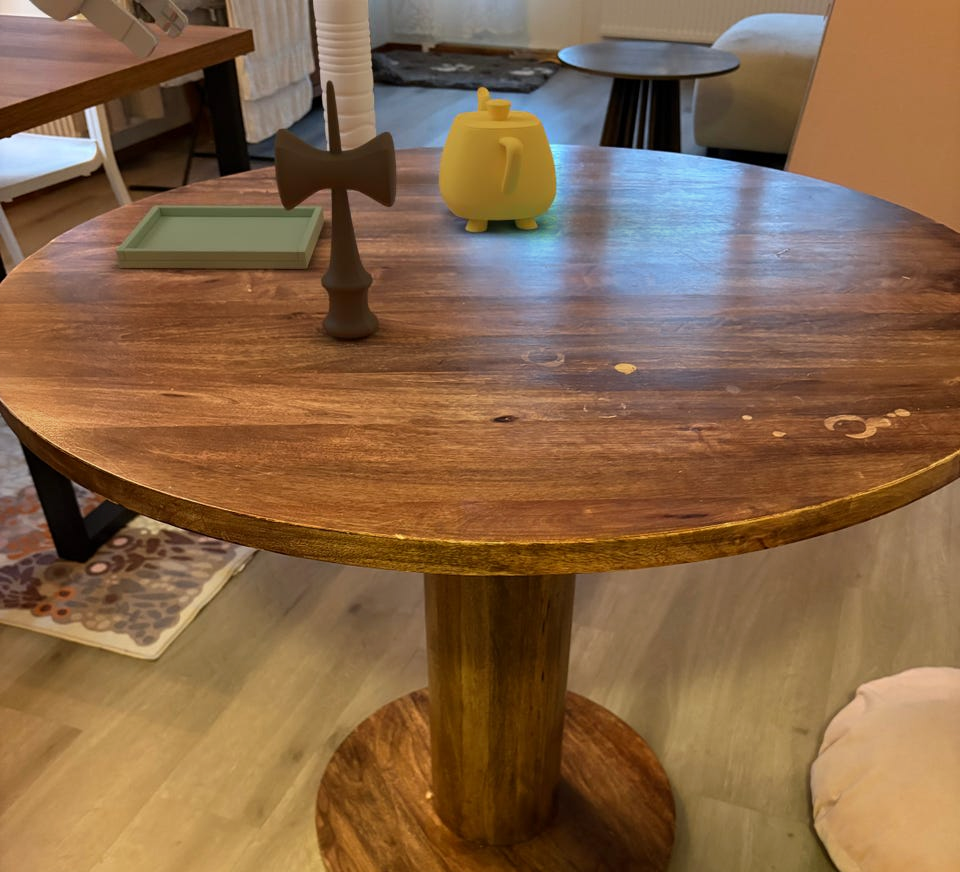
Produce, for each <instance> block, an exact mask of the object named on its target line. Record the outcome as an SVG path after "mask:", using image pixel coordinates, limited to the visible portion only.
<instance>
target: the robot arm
mask: <svg viewBox="0 0 960 872" xmlns="http://www.w3.org/2000/svg"><path fill="white" fill-rule="evenodd" d="M28 1H29V2H30V3H31V4H32V5H34V6H35V7H36V8H37V9H38V10H39V11H41V12H42V13H43V14H45V15H46V16H48V17H50V18H51V19H53V20H55V21H57V22H64V21H66V20H70V19H71V18H74V17H76V16H78V15H80V14H81V15H82V16H83V17H84V18H85V19H86V20H88V22H89V23H91V25H93V26H94V27H96V28H97V29H99V30H100V31H102V32H104V33H105V34H107V35H109V36H110V37H112V38H114V39H115V40H116V41H118V42H121V44H123V45H124V46H125V47H126V48H127V49H128V50H129V51H130V52H132V53H133V54H134V55H135V56H136V57H137V58H138V59H139V60H146V59H147V58H149V57H150V56H151V55H152V54H153V52H154V51H155V49H156V48H157V46H158V45H159V43H160V38H159V35H158V33H157V32H156V31H155V30H154V29H152V28H151V26H149V24H148V23H147V22H145V21H144V20H143V19H142V18H141V17H139V18H137V17H136V16H135V15H133V13H132V12H130V11H129V10H127V9H126V8H125V6H124V5H122V4H121V3H119V1H117V0H28ZM134 1H135V3H136V4H140V5H141V6H142V7H143V8H144V9H145V10H146V11H147V12H148V13H149V14H150V15H151V17H152V18H153V19H154V20H155V21H154V24H155V25H156V26H158V27H159V29H160V30H161V31H163V32H164V33H165V35H167V36H168V37H169V38H170V39H175V38H178V37H180V36H181V35H182V33H183V32H184V31H185V29H186V28H187V26H188V24H189V19H188V17H187V15H186V14H185V13H184V12H183V10H181V9H180V8H179V7H178V5H177V4H175V3H174V1H172V0H134Z"/></svg>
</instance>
